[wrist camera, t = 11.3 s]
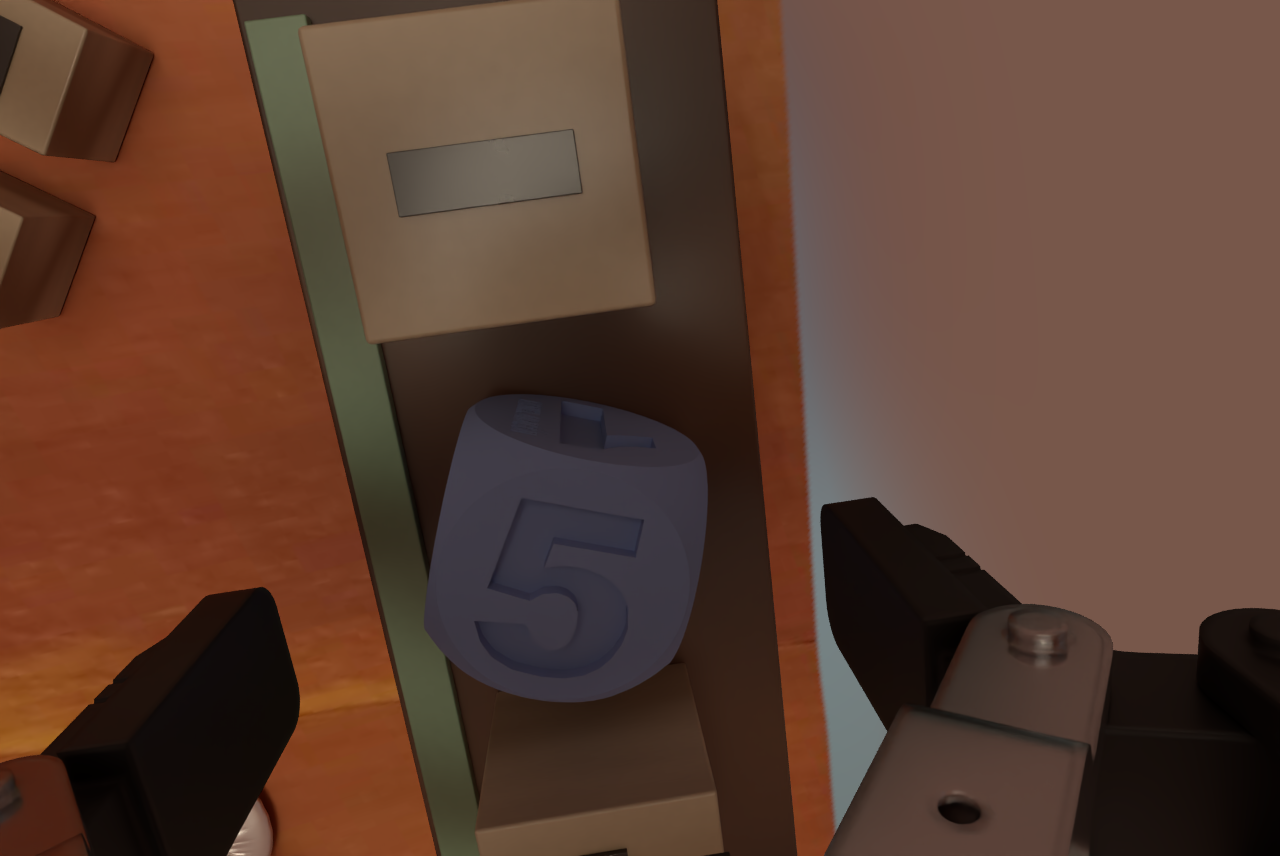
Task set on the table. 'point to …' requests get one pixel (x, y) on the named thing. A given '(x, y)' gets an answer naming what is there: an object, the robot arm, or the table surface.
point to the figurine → (254, 834)
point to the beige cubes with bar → (56, 140)
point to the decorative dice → (566, 547)
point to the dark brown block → (536, 372)
